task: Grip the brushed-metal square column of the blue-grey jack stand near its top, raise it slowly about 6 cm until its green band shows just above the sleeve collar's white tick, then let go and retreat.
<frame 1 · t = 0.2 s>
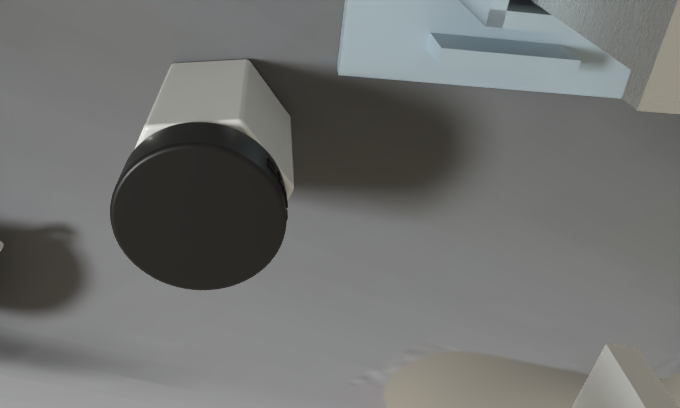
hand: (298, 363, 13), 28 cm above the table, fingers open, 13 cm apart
jar: (219, 119, 40), on the table
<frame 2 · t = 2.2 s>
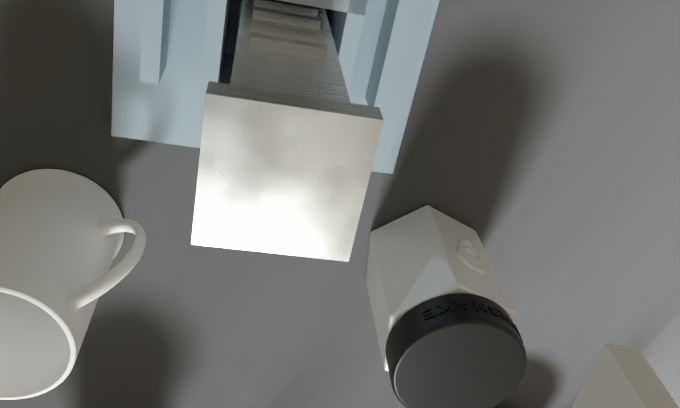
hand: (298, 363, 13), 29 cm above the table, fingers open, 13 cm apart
mug: (83, 215, 44), on the table
column: (280, 76, 28), point 11 cm above the table, slide at 0.0 cm
jar: (419, 253, 48), on the table
stand base: (278, 10, 38), on the table
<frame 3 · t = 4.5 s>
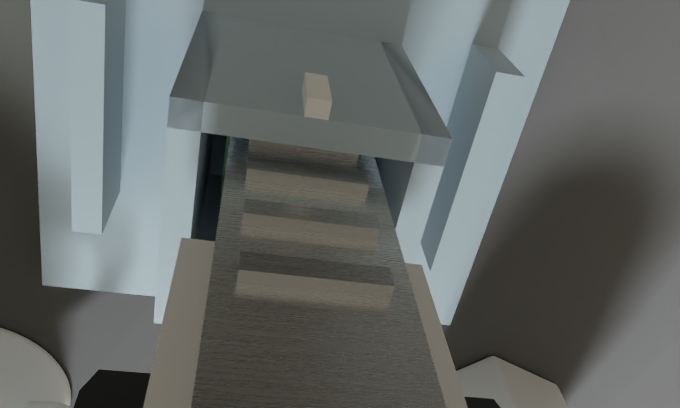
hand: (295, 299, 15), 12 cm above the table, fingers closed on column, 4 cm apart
mug: (12, 376, 31), on the table
column: (295, 289, 15), point 11 cm above the table, slide at 0.0 cm, touching gripper
stand base: (288, 108, 25), on the table
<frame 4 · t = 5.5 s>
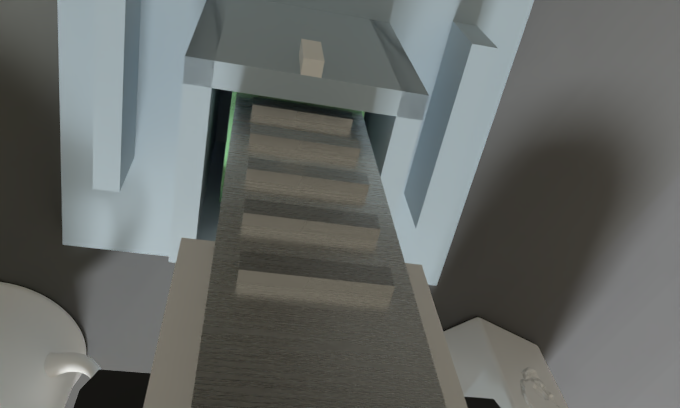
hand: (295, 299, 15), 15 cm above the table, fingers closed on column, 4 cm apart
mug: (32, 333, 34), on the table
column: (295, 288, 15), point 14 cm above the table, slide at 3.0 cm, touching gripper
jar: (464, 371, 38), on the table
stand base: (287, 81, 28), on the table
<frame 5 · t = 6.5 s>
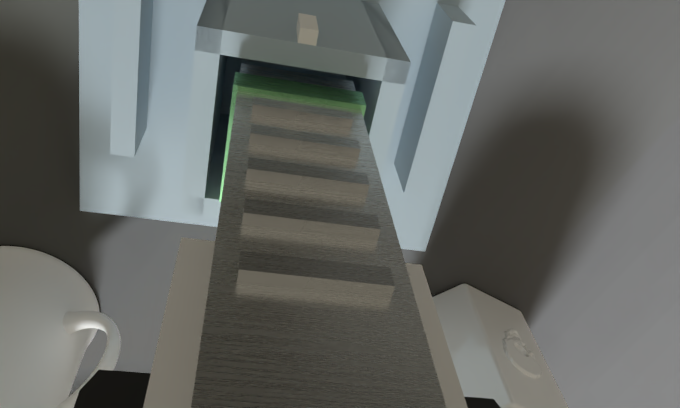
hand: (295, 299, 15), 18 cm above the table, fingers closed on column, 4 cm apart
mug: (49, 297, 36), on the table
column: (295, 288, 15), point 17 cm above the table, slide at 6.0 cm, touching gripper
jar: (452, 336, 40), on the table
stand base: (286, 59, 30), on the table
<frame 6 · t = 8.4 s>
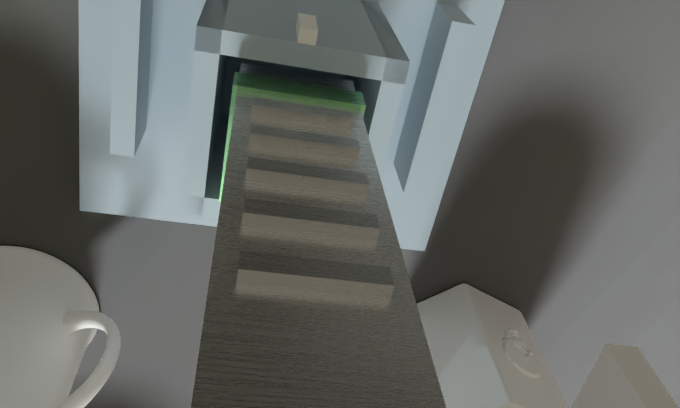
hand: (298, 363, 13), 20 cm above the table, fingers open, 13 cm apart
mug: (49, 297, 36), on the table
column: (295, 288, 15), point 17 cm above the table, slide at 6.0 cm
jar: (452, 335, 40), on the table
stand base: (286, 58, 30), on the table
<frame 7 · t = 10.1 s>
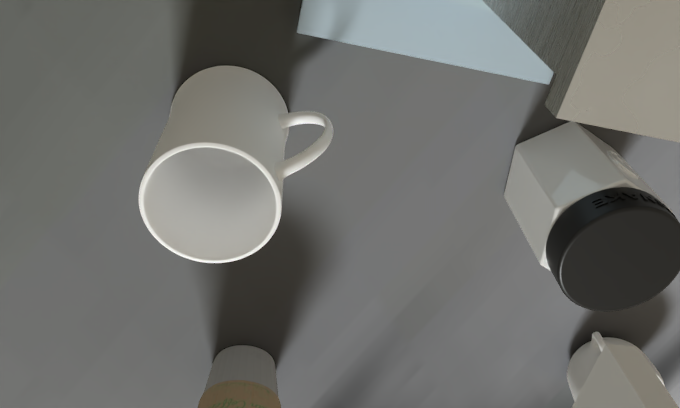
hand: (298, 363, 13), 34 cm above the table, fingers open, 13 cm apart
mug: (252, 115, 47), on the table
coffee cup: (243, 367, 60), on the table
jar: (556, 171, 51), on the table
teacup: (594, 346, 61), on the table
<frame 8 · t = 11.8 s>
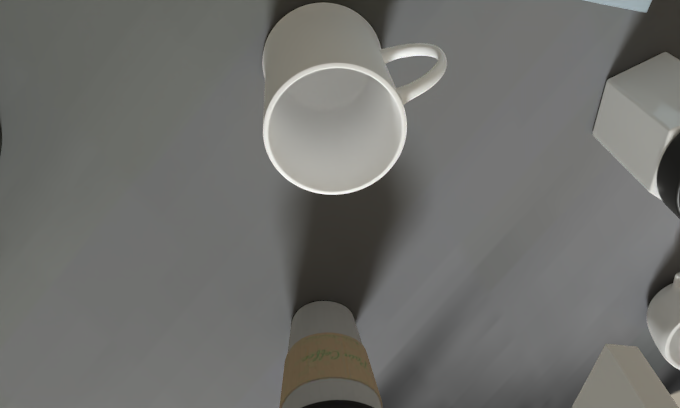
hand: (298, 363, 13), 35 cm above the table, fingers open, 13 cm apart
mug: (344, 55, 46), on the table
coffee cup: (322, 324, 59), on the table
jar: (645, 106, 50), on the table
teacup: (672, 291, 60), on the table
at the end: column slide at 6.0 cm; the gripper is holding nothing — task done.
